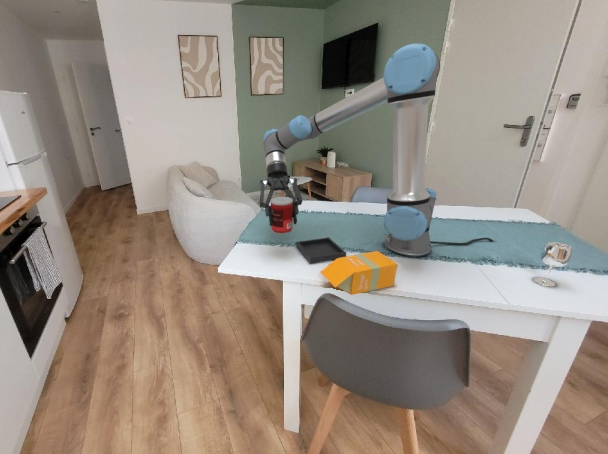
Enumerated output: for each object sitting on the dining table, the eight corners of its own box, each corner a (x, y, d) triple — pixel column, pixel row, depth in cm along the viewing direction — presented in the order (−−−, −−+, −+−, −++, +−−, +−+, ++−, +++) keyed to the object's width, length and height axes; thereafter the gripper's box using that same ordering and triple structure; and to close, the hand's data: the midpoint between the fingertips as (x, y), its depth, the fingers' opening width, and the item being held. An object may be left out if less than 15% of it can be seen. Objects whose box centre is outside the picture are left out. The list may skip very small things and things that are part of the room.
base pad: (328, 242, 115) (328, 237, 115) (345, 258, 103) (346, 252, 102) (296, 247, 113) (296, 241, 112) (310, 263, 101) (310, 258, 100)
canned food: (292, 224, 107) (292, 196, 103) (293, 233, 100) (293, 203, 96) (271, 225, 108) (270, 196, 104) (270, 233, 101) (270, 203, 96)
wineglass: (525, 277, 88) (539, 241, 83) (543, 276, 88) (558, 240, 83) (545, 288, 82) (561, 251, 78) (564, 286, 83) (581, 249, 78)
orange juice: (393, 286, 87) (334, 299, 82) (374, 271, 95) (319, 282, 90) (398, 263, 84) (336, 275, 79) (377, 250, 92) (320, 260, 87)
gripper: (302, 171, 112) (310, 225, 103) (249, 174, 111) (253, 229, 103) (305, 159, 105) (315, 217, 96) (248, 163, 104) (253, 221, 96)
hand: (283, 223), depth 99 cm, fingers closed on canned food, 8 cm apart
